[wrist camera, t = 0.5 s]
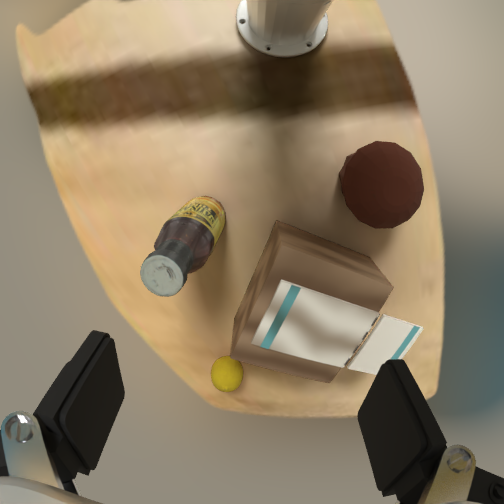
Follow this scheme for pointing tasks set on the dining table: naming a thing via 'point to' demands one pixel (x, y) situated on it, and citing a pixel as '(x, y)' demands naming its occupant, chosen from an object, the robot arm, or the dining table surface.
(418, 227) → the dining table surface
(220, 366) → the lemon
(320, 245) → the brown box with strip
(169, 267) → the sauce bottle
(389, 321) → the stub
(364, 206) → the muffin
